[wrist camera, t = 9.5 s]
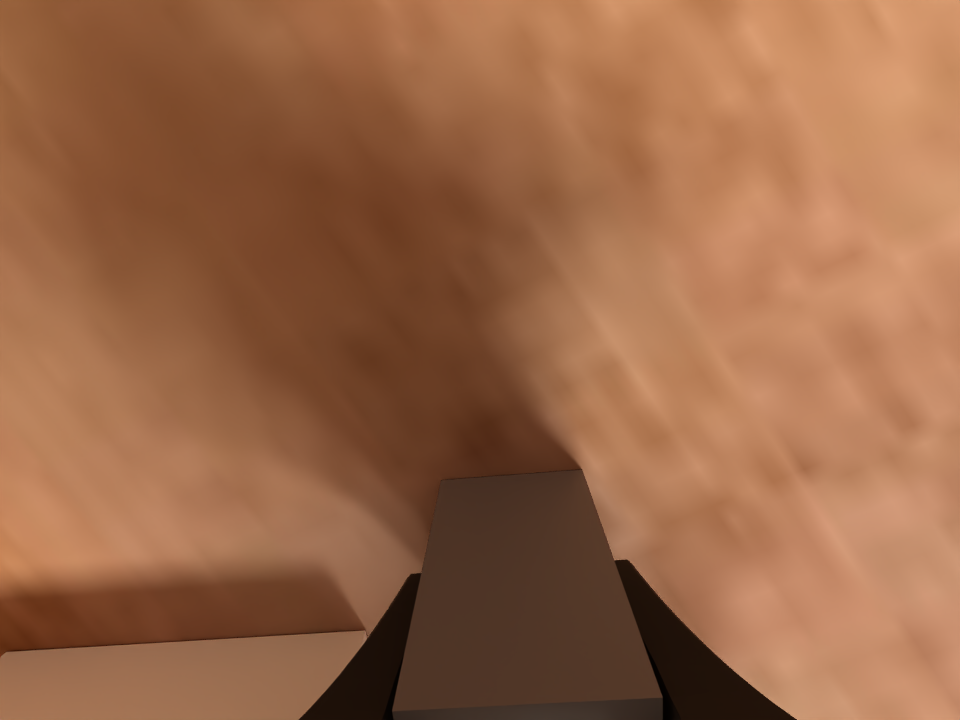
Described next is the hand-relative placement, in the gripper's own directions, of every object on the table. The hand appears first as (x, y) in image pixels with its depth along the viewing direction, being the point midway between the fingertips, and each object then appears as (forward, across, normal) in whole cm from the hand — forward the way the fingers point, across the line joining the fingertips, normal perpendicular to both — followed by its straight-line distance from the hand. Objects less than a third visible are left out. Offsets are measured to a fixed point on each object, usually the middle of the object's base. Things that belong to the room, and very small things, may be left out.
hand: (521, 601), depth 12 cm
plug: (+3, 0, 0) cm, 3 cm away
